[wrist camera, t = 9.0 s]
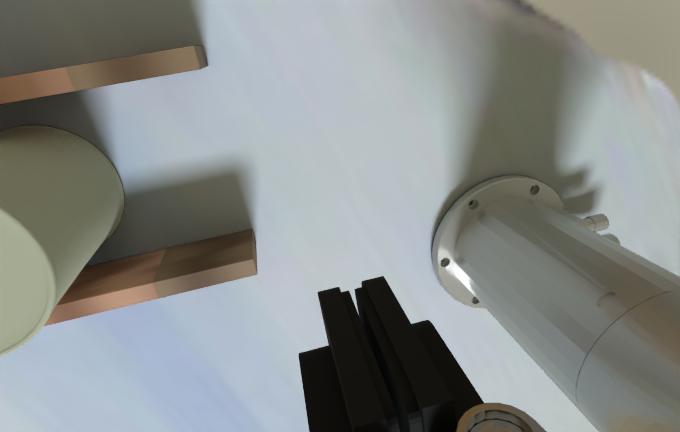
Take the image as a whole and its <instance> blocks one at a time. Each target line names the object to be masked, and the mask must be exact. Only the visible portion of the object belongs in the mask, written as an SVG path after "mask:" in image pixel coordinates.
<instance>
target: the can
mask: <svg viewBox="0 0 680 432" xmlns="http://www.w3.org/2000/svg"><path fill="white" fill-rule="evenodd" d="M123 211H124V192H123V187H122V184H121V180H120V178H119V176H118V174H117V172H116V170H115V169H114V167H113V165H112V164H111V163H110V161H109V160H108V159H107V158H106V157H105V156H104V155H103V153H101V152H100V151H99V150H98V149H97V148H96V147H94V146H93V145H92V144H90V143H89V142H87V141H86V140H84V139H82V138H81V137H79V136H77V135H74V134H72V133H70V132H67V131H64V130H61V129H57V128H53V127H48V126H38V125H28V126H18V127H13V128H9V129H6V130H3V131H1V132H0V357H1V356H3V355H6V354H8V353H10V352H12V351H14V350H16V349H18V348H19V347H21V346H23V345H24V344H25V343H27V342H28V341H29V340H31V339H32V338H33V337H34V336H35V335H36V334H37V333H38V332H39V331H40V330H41V329H42V327H43V326H44V325H45V323H46V322H47V320H48V319H49V317H50V315H51V313H52V311H53V309H54V308H55V306H56V305H57V303H58V302H59V301H60V299H61V298H62V297H63V295H64V294H65V292H66V291H67V290H68V288H69V287H70V285H71V284H72V283H73V281H74V280H75V279H76V277H77V276H78V274H79V273H80V272H81V270H82V269H83V268H84V266H85V265H86V264H87V262H88V261H89V260H90V258H91V257H92V256H93V254H94V253H95V252H96V250H97V249H98V248H99V247H100V245H101V244H102V243H103V242H104V241H106V240H107V239H108V238H109V237H110V236H111V235H112V234H113V233H114V231H115V230H116V228H117V227H118V225H119V223H120V221H121V218H122V215H123Z"/></svg>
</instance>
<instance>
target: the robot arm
mask: <svg viewBox="0 0 680 432" xmlns="http://www.w3.org/2000/svg"><path fill="white" fill-rule="evenodd" d="M608 226H609V220H608V219H607V217H606V216H605V215H604V214H597V215H593V216H589V217H586V218H584V219H581V218H579V217H577V216H575V215H573V214H571V213H569V212H567V211H566V210H565V206H564V204H563V202H562V201H561V199H560V197H559V196H558V195H557V194H556V193H555V192H554V190H553V189H552V188H550V187H549V186H547V185H545V184H544V183H542V182H540V181H537V180H535V179H533V178H530V177H525V176H520V175H506V176H501V177H496V178H492V179H490V180H487V181H485V182H483V183H480V184H478V185H477V186H475V187H473V188H472V189H470V190H469V191H467V192H466V193H465V194H464V195H462V196H461V197H460V198H459V199H458V200H457V201H456V202H455V203H454V204H453V205H452V207H451V208H450V209H449V210H448V212H447V213H446V214H445V216H444V218H443V219H442V221H441V223H440V225H439V227H438V230H437V232H436V235H435V238H434V243H433V249H432V263H433V267H434V271H435V275H436V277H437V279H438V281H439V283H440V284H441V285H442V286H443V288H444V289H445V290H446V292H447V293H448V294H449V295H451V296H452V297H453V298H454V299H455V300H457V301H459V302H460V303H462V304H464V305H467V306H470V307H475V308H486V309H487V310H488V311H489V312H490V313H491V314H492V316H493V317H494V318H495V319H496V320H497V321H498V322H499V323H500V324H501V325H502V326H503V328H504V329H505V330H506V331H507V332H508V333H509V334H510V335H511V336H512V337H513V338H514V340H515V341H516V342H517V343H518V344H519V345H520V346H521V347H522V348H523V349H524V350H525V352H526V353H527V354H528V355H529V356H530V357H531V358H532V359H533V360H534V361H535V362H536V364H537V365H538V366H539V367H540V368H541V369H542V370H543V371H544V372H545V373H546V374H547V376H548V377H549V378H550V379H551V380H552V381H553V382H554V383H555V384H556V385H557V386H558V388H559V389H560V390H561V391H562V392H563V393H564V394H565V395H566V396H567V397H568V398H569V400H570V401H571V402H572V403H573V404H574V405H575V406H576V407H577V408H578V409H579V410H580V412H581V413H582V414H583V415H584V416H585V417H586V418H587V419H588V421H589V422H590V423H591V424H592V425H593V426H594V427H595V428H596V429H597V430H598V431H599V432H680V277H679V276H677V275H675V274H674V273H672V272H670V271H668V270H666V269H664V268H662V267H660V266H658V265H656V264H655V263H653V262H651V261H649V260H647V259H645V258H643V257H641V256H639V255H638V254H636V253H634V252H632V251H630V250H628V249H626V248H624V247H622V246H620V242H619V240H618V238H617V237H616V236H614V235H613V234H605V235H600V234H598V233H596V232H597V231H601V230H605V229H607V228H608ZM355 295H356V301H357V307H358V312H359V315H358V313H357V310H356V308H355V305H354V303H353V300H352V297H351V295H350V292H349V291H345V292H341V291H340V288H339V287H337V288H332V289H328V290H324V291H320V292H318V297H319V301H320V306H321V311H322V315H323V320H324V325H325V329H326V334H327V339H328V343H329V346H325V347H321V348H318V349H314V350H310V351H306V352H302V353H299V361H300V368H301V375H302V382H303V389H304V396H305V403H306V410H307V417H308V424H309V431H310V432H546V431H545V430H544V429H543V428H542V427H541V426H540V425H539V424H538V423H537V422H536V421H535V420H534V419H533V418H531V417H530V416H529V415H528V414H526V413H525V412H523V411H521V410H519V409H517V408H515V407H513V406H510V405H506V404H501V403H484V402H483V401H482V399H481V398H480V396H479V395H478V393H477V392H476V390H475V388H474V387H473V385H472V384H471V382H470V381H469V379H468V378H467V376H466V375H465V373H464V372H463V370H462V369H461V367H460V366H459V364H458V362H457V361H456V359H455V358H454V356H453V355H452V353H451V352H450V350H449V349H448V347H447V346H446V344H445V343H444V341H443V339H442V338H441V336H440V335H439V333H438V332H437V330H436V329H435V327H434V326H433V324H432V323H431V322H430V321H429V320H425V321H421V322H418V323H414V324H411V323H410V321H409V320H408V318H407V316H406V314H405V313H404V311H403V309H402V307H401V306H400V304H399V302H398V300H397V299H396V297H395V295H394V293H393V292H392V290H391V288H390V287H389V285H388V283H387V281H386V280H385V278H384V277H383V276H382V277H378V278H373V279H369V280H365V281H362V287H361V288H357V289H355Z"/></svg>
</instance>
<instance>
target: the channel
mask: <svg viewBox="0 0 680 432" xmlns="http://www.w3.org/2000/svg"><path fill="white" fill-rule="evenodd" d="M206 66H208V63H207V59H206V56H205V52H204V48H203V46H188V47H182V48H176V49H170V50H164V51H158V52H152V53H146V54H140V55H134V56H128V57H122V58H116V59H110V60H104V61H98V62H92V63H86V64H80V65H74V66H68V67H62V68H57V69H51V70H45V71H39V72H33V73H27V74H21V75H15V76H9V77H3V78H0V104H4V103H10V102H15V101H21V100H27V99H33V98H38V97H44V96H50V95H55V94H61V93H67V92H73V91H78V90H84V89H90V88H95V87H101V86H107V85H112V84H118V83H124V82H130V81H135V80H141V79H147V78H152V77H158V76H164V75H170V74H175V73H181V72H187V71H192V70H198V69H202V68H204V67H206ZM253 275H257V253H256V241H255V237H254V233H253V229H250V230H246V231H241V232H237V233H232V234H228V235H224V236H219V237H215V238H210V239H206V240H202V241H197V242H193V243H188V244H184V245H180V246H175V247H171V248H167V249H162V250H158V251H153V252H149V253H145V254H140V255H136V256H131V257H127V258H123V259H118V260H114V261H109V262H105V263H101V264H96V265H92V266H87V267H84V268H83V269H82V270H81V272H80V273H79V274H78V276H77V277H76V279H75V280H74V281H73V283H72V284H71V285H70V287H69V288H68V290H67V291H66V292H65V294H64V295H63V297H62V298H61V299H60V301H59V302H58V303H57V305H56V306H55V308H54V309H53V311H52V313H51V315H50V317H49V319H48V320H47V322H46V323H45V325H44V326H46V325H50V324H55V323H59V322H63V321H67V320H71V319H75V318H79V317H83V316H88V315H92V314H96V313H100V312H104V311H108V310H112V309H117V308H121V307H125V306H129V305H133V304H137V303H141V302H145V301H150V300H154V299H158V298H162V297H166V296H170V295H174V294H179V293H183V292H187V291H191V290H195V289H199V288H203V287H207V286H212V285H216V284H220V283H224V282H228V281H232V280H236V279H241V278H245V277H249V276H253Z"/></svg>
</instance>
